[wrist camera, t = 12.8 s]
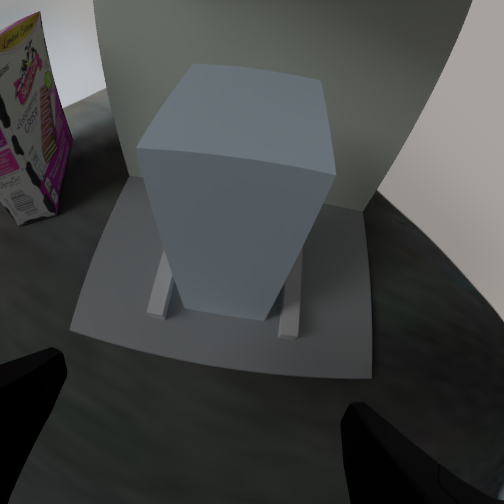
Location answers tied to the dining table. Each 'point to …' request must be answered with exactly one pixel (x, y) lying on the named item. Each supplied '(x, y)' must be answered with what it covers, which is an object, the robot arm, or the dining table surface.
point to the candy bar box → (30, 125)
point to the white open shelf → (335, 204)
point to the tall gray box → (236, 182)
